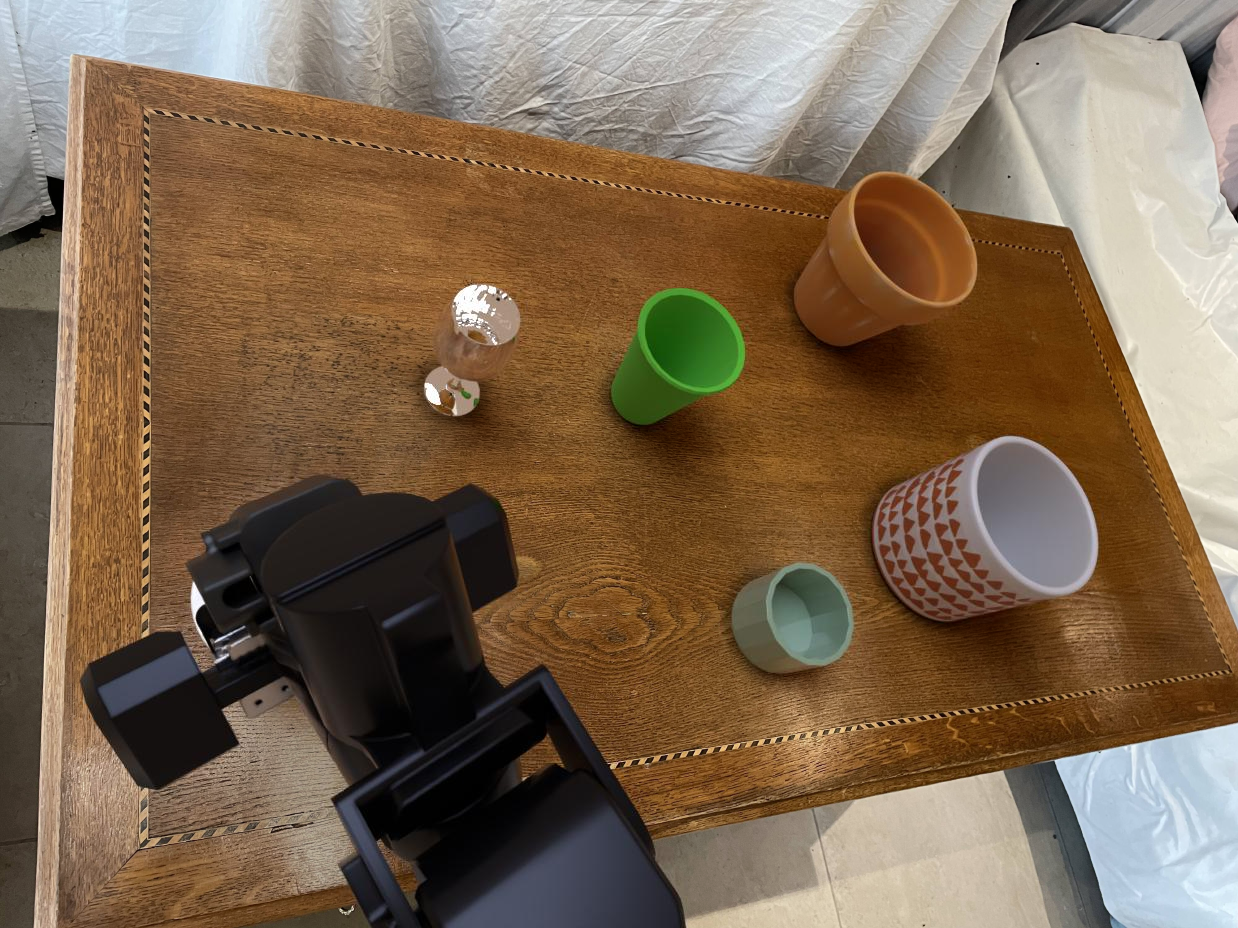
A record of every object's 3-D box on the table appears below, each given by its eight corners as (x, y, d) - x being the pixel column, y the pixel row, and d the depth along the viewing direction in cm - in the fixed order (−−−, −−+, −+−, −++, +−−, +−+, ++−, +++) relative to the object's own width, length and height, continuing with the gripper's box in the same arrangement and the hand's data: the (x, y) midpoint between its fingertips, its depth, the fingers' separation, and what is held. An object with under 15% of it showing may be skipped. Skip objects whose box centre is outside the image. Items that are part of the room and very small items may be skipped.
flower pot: (905, 358, 83) (1002, 294, 72) (806, 383, 77) (896, 316, 66) (849, 245, 86) (934, 165, 75) (748, 259, 80) (825, 175, 69)
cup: (595, 340, 69) (646, 271, 60) (687, 370, 72) (749, 309, 62) (581, 430, 66) (632, 372, 56) (678, 459, 68) (742, 408, 59)
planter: (979, 643, 74) (1101, 620, 63) (859, 590, 71) (966, 556, 60) (987, 515, 80) (1100, 473, 69) (877, 461, 77) (977, 409, 66)
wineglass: (477, 354, 64) (515, 274, 54) (496, 418, 63) (538, 348, 53) (407, 362, 62) (433, 279, 52) (424, 429, 60) (454, 357, 50)
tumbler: (817, 675, 66) (859, 667, 61) (734, 672, 63) (771, 663, 58) (808, 581, 69) (847, 566, 64) (728, 574, 66) (762, 558, 61)
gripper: (558, 451, 32) (394, 352, 43) (33, 703, 23) (-6, 494, 34) (591, 649, 38) (439, 517, 49) (184, 913, 29) (109, 678, 39)
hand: (273, 546), depth 42 cm, fingers closed on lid, 2 cm apart
